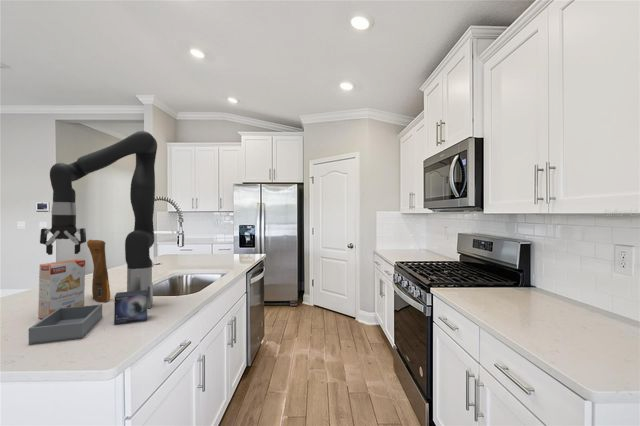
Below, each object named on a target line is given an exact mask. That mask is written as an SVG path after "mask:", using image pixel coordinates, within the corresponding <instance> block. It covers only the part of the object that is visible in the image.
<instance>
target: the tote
mask: <svg viewBox="0 0 640 426" xmlns="http://www.w3.org/2000/svg"><path fill="white" fill-rule="evenodd" d="M102 318H103V304H92V305H84V306H77V307H65V308H58V309H57V310H55V311H54V312H52V313H51V314H49V315H48V316H46V317H45V318H43V319H41V320H39V321H38V322H36V323H35V324H33V325H32V326H30V327H29V328H28V345H29V346H30V345H38V344H47V343H54V342H55V343H56V342H63V341H72V340H74V341H75V340H82V339H84V337H86V335H87V334H88V333H89V332H90V331H91V330H92V329H93V328H94V327H95V326H96V325H97V324H98V322H99V321H100V320H101V319H102Z"/></svg>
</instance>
